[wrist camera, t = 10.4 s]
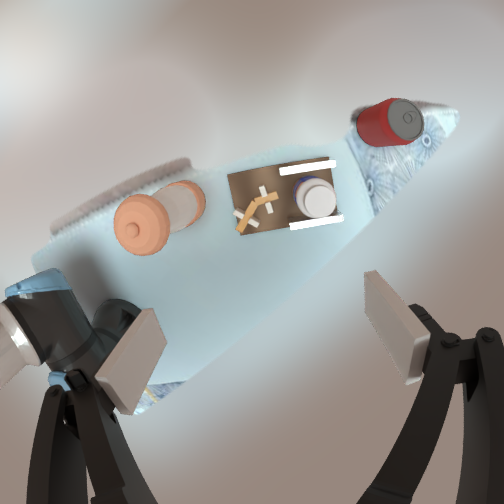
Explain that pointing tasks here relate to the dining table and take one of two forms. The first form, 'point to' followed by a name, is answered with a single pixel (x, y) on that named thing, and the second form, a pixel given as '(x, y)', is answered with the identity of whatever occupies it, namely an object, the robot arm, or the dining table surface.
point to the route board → (285, 207)
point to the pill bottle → (314, 196)
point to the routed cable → (247, 215)
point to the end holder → (304, 220)
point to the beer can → (391, 123)
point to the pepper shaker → (157, 216)
